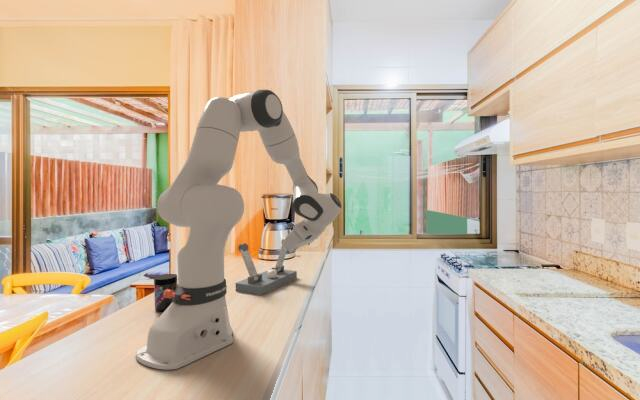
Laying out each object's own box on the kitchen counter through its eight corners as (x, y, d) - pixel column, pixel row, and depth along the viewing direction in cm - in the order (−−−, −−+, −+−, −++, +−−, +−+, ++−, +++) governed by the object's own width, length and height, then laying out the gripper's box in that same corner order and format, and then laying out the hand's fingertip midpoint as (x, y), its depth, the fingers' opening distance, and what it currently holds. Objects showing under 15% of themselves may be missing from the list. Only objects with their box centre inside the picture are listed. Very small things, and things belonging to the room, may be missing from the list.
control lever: (278, 274, 131) (288, 240, 128) (272, 270, 132) (281, 237, 129) (282, 272, 133) (292, 239, 131) (276, 269, 135) (286, 236, 132)
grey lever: (256, 281, 117) (241, 243, 119) (250, 283, 118) (236, 246, 121) (261, 278, 120) (247, 241, 122) (255, 281, 121) (241, 244, 123)
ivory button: (273, 278, 122) (273, 272, 122) (265, 277, 124) (265, 271, 124) (278, 276, 125) (278, 270, 125) (271, 275, 127) (271, 269, 127)
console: (261, 295, 113) (261, 280, 113) (235, 291, 118) (235, 276, 118) (296, 278, 134) (296, 265, 134) (273, 275, 140) (273, 262, 140)
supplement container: (158, 306, 104) (157, 274, 104) (180, 304, 106) (179, 273, 105) (151, 313, 98) (150, 280, 97) (175, 311, 99) (174, 278, 99)
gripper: (318, 220, 135) (298, 241, 139) (292, 225, 116) (271, 249, 121) (327, 230, 133) (307, 252, 138) (303, 238, 115) (281, 262, 119)
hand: (290, 251), depth 129 cm, fingers closed
